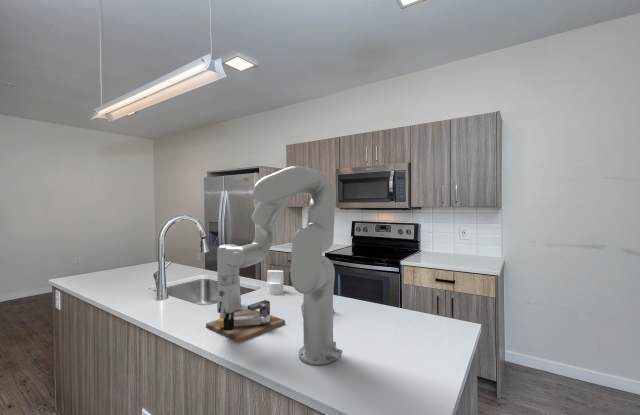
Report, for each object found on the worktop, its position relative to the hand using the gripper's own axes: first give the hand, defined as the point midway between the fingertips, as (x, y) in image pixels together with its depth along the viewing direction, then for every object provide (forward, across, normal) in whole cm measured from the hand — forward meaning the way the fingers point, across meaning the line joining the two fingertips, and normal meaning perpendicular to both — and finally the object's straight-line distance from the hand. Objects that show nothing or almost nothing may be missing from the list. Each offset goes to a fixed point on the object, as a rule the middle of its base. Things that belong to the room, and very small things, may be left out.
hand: (228, 329), depth 110 cm
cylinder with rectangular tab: (+4, +57, +1) cm, 57 cm away
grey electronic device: (+4, +26, -28) cm, 38 cm away
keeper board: (+3, +12, -2) cm, 12 cm away
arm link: (+2, +8, -3) cm, 8 cm away
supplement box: (+4, +30, +14) cm, 33 cm away
